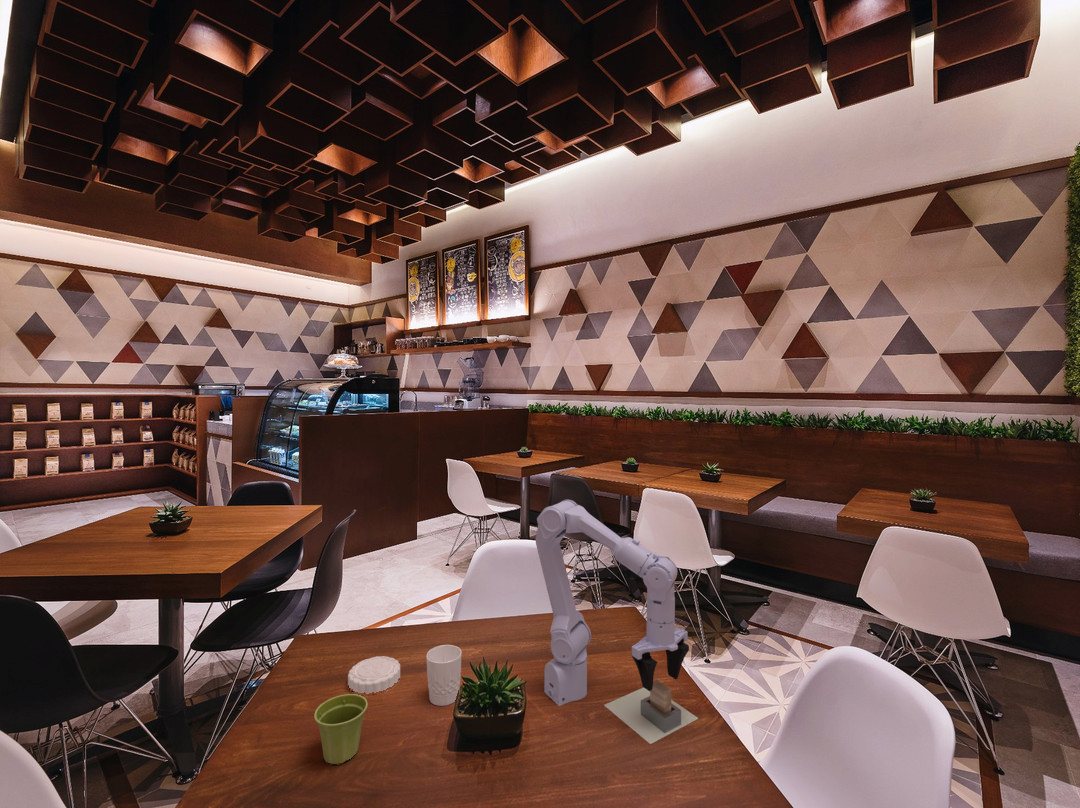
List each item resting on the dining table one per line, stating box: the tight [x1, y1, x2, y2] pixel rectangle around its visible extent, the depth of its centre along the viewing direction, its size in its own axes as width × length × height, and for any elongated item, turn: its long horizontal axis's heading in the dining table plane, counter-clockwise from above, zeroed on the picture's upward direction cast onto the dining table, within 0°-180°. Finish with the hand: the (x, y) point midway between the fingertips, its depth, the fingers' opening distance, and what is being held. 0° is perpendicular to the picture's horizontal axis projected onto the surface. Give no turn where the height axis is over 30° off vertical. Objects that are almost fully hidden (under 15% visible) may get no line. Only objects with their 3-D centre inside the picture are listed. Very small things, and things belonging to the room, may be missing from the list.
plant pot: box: [313, 693, 368, 765], centre depth 91 cm, size 9×9×9 cm
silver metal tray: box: [641, 696, 681, 733], centre depth 99 cm, size 5×7×3 cm
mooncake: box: [347, 655, 401, 694], centre depth 114 cm, size 12×12×4 cm
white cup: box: [425, 644, 463, 707], centre depth 108 cm, size 8×8×10 cm
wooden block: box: [650, 679, 672, 715], centre depth 99 cm, size 2×4×7 cm, turn 32°
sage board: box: [603, 686, 699, 745], centre depth 101 cm, size 14×14×1 cm
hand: (660, 682), depth 99 cm, fingers open, 7 cm apart
